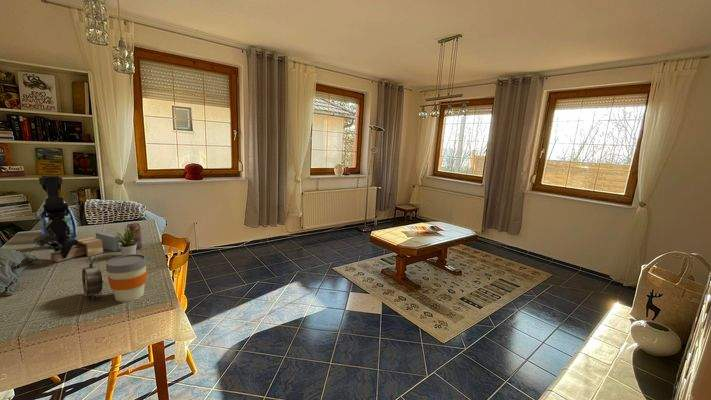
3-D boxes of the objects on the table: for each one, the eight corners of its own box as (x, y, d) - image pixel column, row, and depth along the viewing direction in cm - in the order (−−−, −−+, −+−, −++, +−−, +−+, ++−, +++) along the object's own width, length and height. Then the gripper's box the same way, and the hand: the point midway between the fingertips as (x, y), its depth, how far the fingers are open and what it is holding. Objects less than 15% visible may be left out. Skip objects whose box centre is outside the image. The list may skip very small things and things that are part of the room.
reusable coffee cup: (117, 307, 106) (113, 269, 104) (103, 297, 113) (99, 260, 110) (155, 294, 117) (152, 258, 114) (140, 285, 123) (138, 251, 121)
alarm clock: (83, 293, 115) (78, 254, 112) (101, 289, 119) (96, 251, 116) (87, 304, 108) (82, 262, 105) (106, 298, 112) (102, 258, 109)
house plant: (154, 254, 156) (151, 225, 154) (124, 263, 144) (121, 231, 141) (138, 249, 162) (135, 221, 159) (108, 257, 150) (105, 226, 147)
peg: (51, 261, 141) (50, 253, 140) (86, 251, 155) (85, 243, 155) (57, 262, 140) (56, 254, 140) (91, 252, 155) (91, 244, 154)
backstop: (97, 246, 164) (95, 232, 162) (101, 245, 166) (99, 232, 164) (115, 251, 158) (113, 237, 157) (119, 250, 160) (118, 236, 159)
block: (76, 252, 153) (74, 240, 152) (91, 249, 159) (89, 236, 158) (88, 256, 149) (87, 243, 148) (103, 252, 155) (101, 239, 154)
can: (135, 250, 160) (132, 226, 158) (125, 249, 162) (123, 225, 159) (144, 247, 166) (143, 223, 164) (135, 246, 167) (133, 222, 165)
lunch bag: (37, 235, 177) (31, 192, 173) (75, 230, 190) (70, 190, 185) (39, 244, 163) (33, 198, 159) (80, 238, 176) (75, 195, 171)
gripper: (24, 227, 137) (29, 259, 139) (46, 233, 130) (50, 266, 133) (55, 222, 147) (59, 252, 150) (77, 228, 140) (80, 258, 143)
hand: (61, 257), depth 143 cm, fingers closed on peg, 4 cm apart
